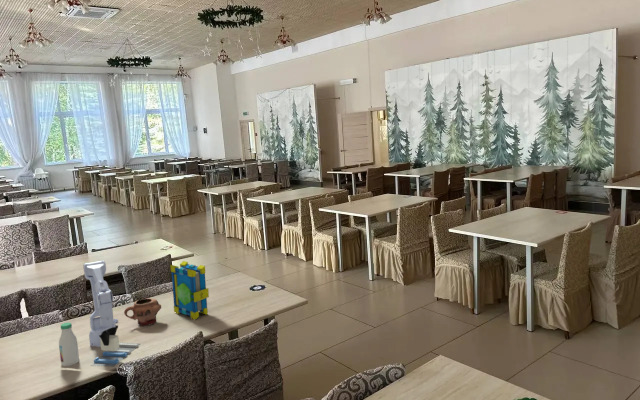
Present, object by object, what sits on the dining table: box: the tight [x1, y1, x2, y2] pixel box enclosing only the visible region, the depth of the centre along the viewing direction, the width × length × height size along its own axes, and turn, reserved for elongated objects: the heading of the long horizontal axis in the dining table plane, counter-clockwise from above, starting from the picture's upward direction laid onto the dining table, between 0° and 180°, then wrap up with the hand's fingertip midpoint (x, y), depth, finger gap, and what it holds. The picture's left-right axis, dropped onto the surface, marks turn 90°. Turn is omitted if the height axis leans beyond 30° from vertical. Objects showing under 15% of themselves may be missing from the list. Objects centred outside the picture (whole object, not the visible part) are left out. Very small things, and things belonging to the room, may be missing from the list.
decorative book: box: [170, 260, 210, 320], centre depth 286 cm, size 14×23×30 cm, turn 53°
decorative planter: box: [124, 297, 162, 327], centre depth 273 cm, size 20×12×14 cm, turn 125°
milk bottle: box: [58, 322, 80, 367], centre depth 228 cm, size 8×8×20 cm
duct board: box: [90, 342, 141, 368], centre depth 236 cm, size 12×24×3 cm, turn 170°
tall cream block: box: [100, 334, 120, 351], centre depth 230 cm, size 7×4×6 cm, turn 80°
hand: (109, 343), depth 230 cm, fingers closed on tall cream block, 4 cm apart
